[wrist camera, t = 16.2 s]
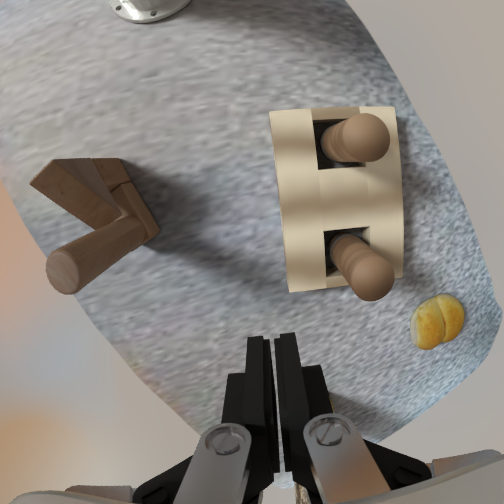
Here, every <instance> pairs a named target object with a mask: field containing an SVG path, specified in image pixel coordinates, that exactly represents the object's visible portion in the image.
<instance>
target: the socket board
mask: <svg viewBox="0 0 504 504" xmlns="http://www.w3.org/2000/svg"><path fill="white" fill-rule="evenodd" d="M361 113H369V114H373V115H375V116H377V117H378V118H380V119H381V120H382V121H383V122H384V123H385V125H386V126H387V128H388V131H389V134H390V145H389V149H388V151H387V153H386V154H385V155H384V156H383V157H382V158H381V159H379V160H377V161H374V162H358V166H356V167H340V168H326V169H318V164H317V155H316V146H315V138H314V130H313V123H324V122H342V121H344V120H346V119H348V118H351V117H353V116H355V115H357V114H361ZM269 119H270V127H271V135H272V143H273V151H274V159H275V167H276V176H277V185H278V194H279V203H280V212H281V222H282V232H283V242H284V252H285V262H286V273H287V283H288V288H289V292H299V291H307V290H315V289H324V288H331V287H339V286H347V285H349V284H348V282H347V281H346V279H345V278H344V277H343V275H342V274H341V272H340V271H339V269H338V268H337V267H334V268H326V266H325V248H324V233H323V231H328V230H338V229H347V228H357V227H362V240H363V241H364V243H366V244H367V245H368V246H369V247H371V248H372V249H373V250H374V251H376V252H377V253H378V254H379V255H380V256H382V257H383V258H384V259H385V260H386V261H388V262H389V263H390V264H391V266H392V267H393V270H394V274H395V278H394V279H396V278H403V250H404V225H403V192H402V175H401V162H400V150H399V140H398V132H397V123H396V116H395V108H394V107H327V108H308V109H294V110H281V111H271V112H270V114H269Z"/></svg>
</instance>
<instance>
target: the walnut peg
mask: <svg viewBox="0 0 504 504" xmlns="http://www.w3.org/2000/svg"><path fill="white" fill-rule="evenodd" d="M328 247H329V256H330V258H331V261H332V263H333V264H334V265H335V266H336V267H337V268H338V269H339V271H340V272H341V274H342V275H343V277H344V278H345V279H346V281H347V282H348V284H349V285H350V287H351V288H352V290H353V291H354V292H355V294H356V295H357V296H358V297H359V298H360V299H362V300H365V301H376V300H379V299H381V298H383V297H384V296H385V295H387V294H388V292H389V291H390V290H391V288H392V286H393V283H394V278H395V274H394V270H393V267H392V266H391V264H390V263H389V262H388V261H386V260H385V259H384V258H383V257H382V256H380V255H379V254H378V253H377V252H376V251H374V250H373V249H372V248H371V247H369V246H368V245H367V244H366V243H364V241H363V240H362V239H361V238H360V237H358V236H357V235H354V234H352V233H349V232H338V233H336V234H334V235H333V236H332V237H331V238H330V240H329V244H328Z"/></svg>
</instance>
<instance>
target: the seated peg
mask: <svg viewBox="0 0 504 504" xmlns="http://www.w3.org/2000/svg"><path fill="white" fill-rule="evenodd" d="M389 145H390V134H389V131H388V128H387V126H386V125H385V123H384V122H383V121H382V120H381V119H380V118H378V117H377V116H375V115H373V114H369V113H361V114H357V115H355V116H353V117H351V118H348V119H346V120H344V121H342V122H340V123H338V124H334V125H332V126H330V127H328V128H327V129H326V130H325V131H324V132H323V134H322V136H321V139H320V147H321V150H322V152H323V154H324V155H325V156H326V157H327V158H328V159H330V160H332V161H334V162H338V163H345V162H374V161H377V160H379V159H381V158H382V157H383V156H384V155H385V154H386V153H387V151H388V149H389Z"/></svg>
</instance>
